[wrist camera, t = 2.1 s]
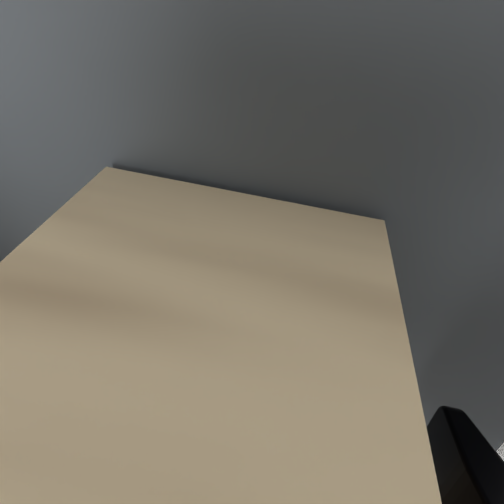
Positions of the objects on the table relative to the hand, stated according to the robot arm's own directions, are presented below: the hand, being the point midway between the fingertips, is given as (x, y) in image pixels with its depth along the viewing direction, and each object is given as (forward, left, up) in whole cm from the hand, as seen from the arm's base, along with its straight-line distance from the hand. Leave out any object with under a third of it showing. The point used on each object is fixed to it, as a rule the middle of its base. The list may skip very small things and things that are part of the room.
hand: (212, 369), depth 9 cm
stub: (0, 0, -1) cm, 1 cm away
